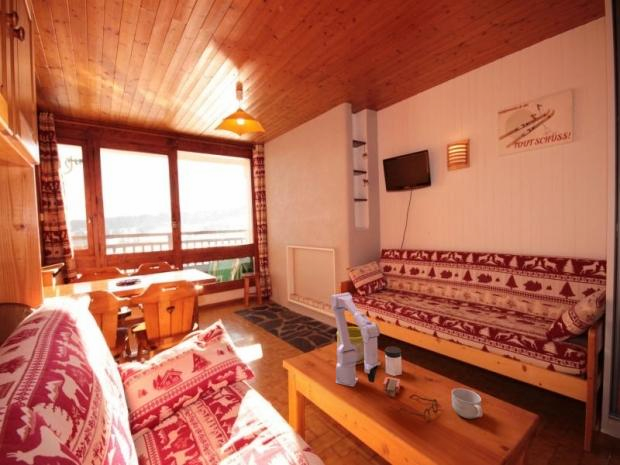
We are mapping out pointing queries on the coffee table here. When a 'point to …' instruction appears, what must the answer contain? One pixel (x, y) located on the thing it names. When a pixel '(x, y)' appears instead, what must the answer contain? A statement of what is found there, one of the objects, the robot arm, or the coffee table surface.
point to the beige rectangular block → (391, 388)
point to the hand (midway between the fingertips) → (371, 381)
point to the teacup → (466, 403)
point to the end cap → (388, 383)
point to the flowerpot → (355, 342)
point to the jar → (393, 361)
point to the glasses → (424, 410)
